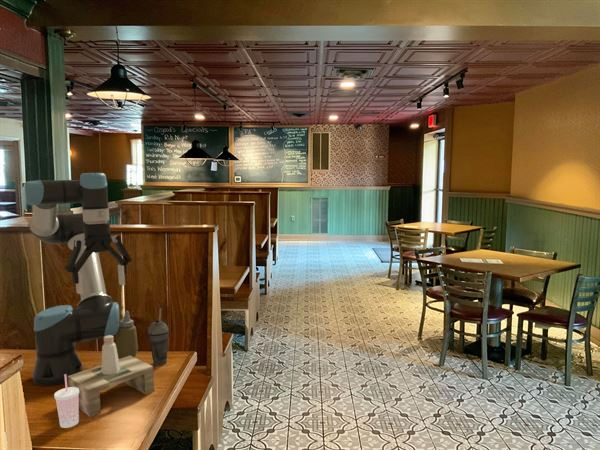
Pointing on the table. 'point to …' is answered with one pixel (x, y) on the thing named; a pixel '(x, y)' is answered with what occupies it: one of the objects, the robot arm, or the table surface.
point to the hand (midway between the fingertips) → (101, 289)
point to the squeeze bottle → (126, 338)
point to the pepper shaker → (109, 357)
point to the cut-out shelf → (110, 382)
